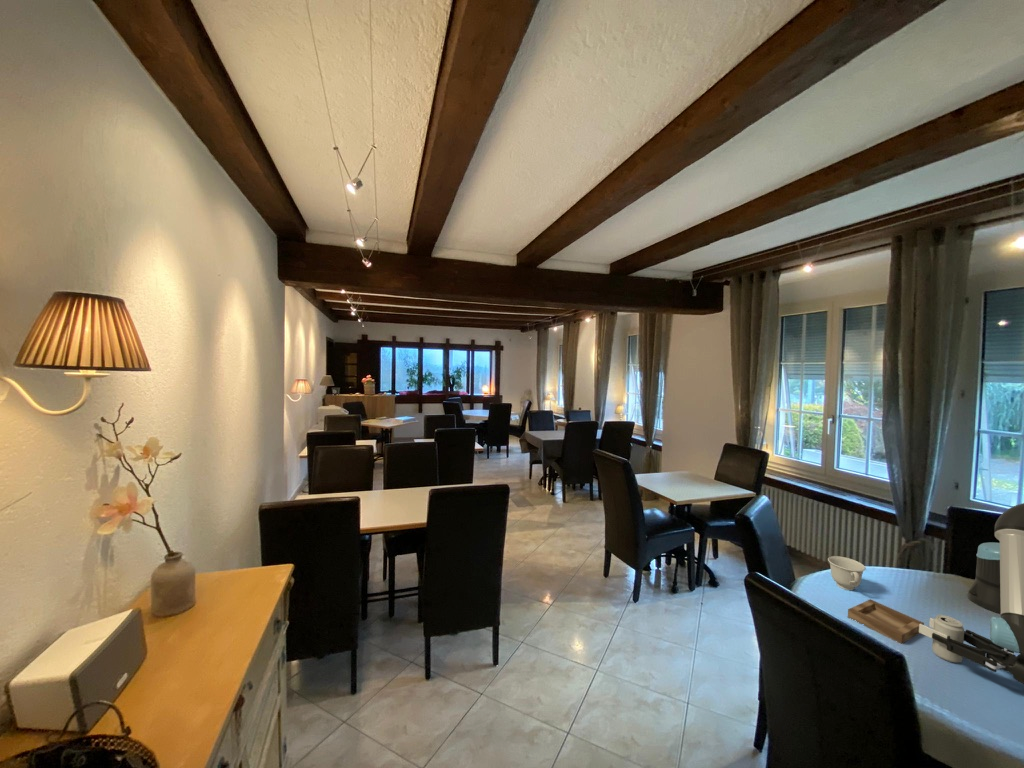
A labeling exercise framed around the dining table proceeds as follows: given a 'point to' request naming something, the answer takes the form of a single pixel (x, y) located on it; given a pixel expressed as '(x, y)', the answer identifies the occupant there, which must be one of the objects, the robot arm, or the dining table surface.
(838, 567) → the teacup
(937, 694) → the dining table surface
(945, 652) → the beverage can
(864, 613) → the tray
